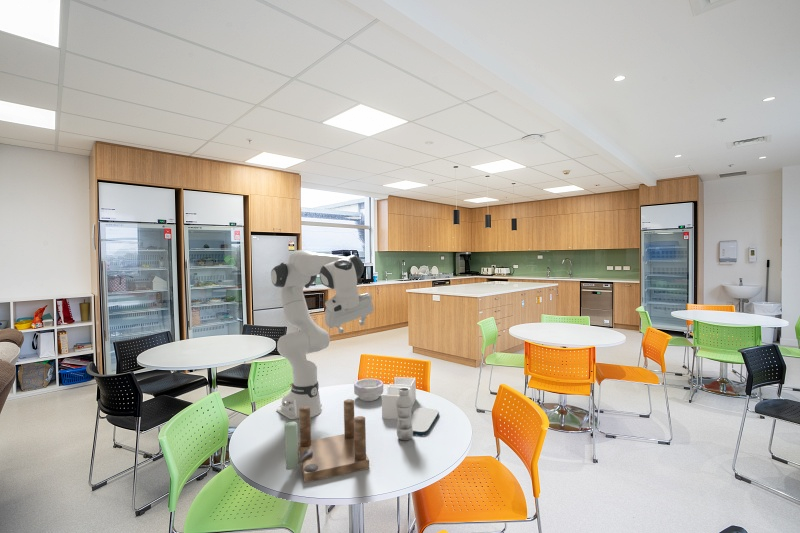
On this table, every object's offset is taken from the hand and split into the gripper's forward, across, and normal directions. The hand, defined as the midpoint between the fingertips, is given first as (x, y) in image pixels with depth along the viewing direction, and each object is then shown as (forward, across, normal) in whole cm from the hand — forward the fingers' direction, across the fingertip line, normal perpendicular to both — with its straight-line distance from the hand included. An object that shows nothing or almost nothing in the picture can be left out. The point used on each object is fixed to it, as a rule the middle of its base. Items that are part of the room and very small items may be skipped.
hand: (351, 328), depth 155 cm
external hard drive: (+46, -18, +22) cm, 54 cm away
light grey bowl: (+57, -11, -16) cm, 60 cm away
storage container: (+52, -18, +4) cm, 55 cm away
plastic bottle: (+40, -5, +29) cm, 50 cm away
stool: (+33, +24, +26) cm, 48 cm away
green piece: (+27, +35, +25) cm, 51 cm away
